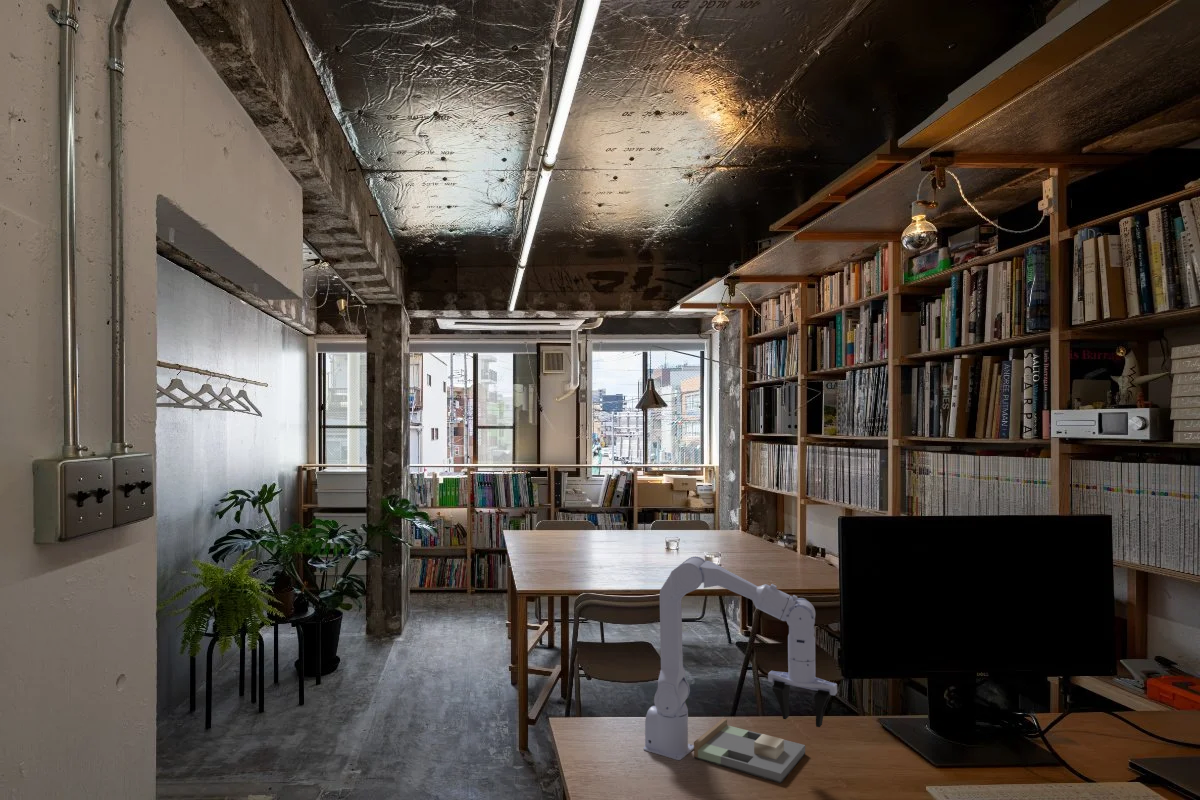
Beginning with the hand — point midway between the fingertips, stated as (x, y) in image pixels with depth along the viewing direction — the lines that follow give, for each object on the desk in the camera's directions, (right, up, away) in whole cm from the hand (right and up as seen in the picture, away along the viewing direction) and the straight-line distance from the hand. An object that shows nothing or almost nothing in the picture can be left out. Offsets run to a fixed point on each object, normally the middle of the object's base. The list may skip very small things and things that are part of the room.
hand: (802, 721), depth 151 cm
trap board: (-10, -11, +6) cm, 16 cm away
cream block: (-6, -9, +4) cm, 11 cm away
